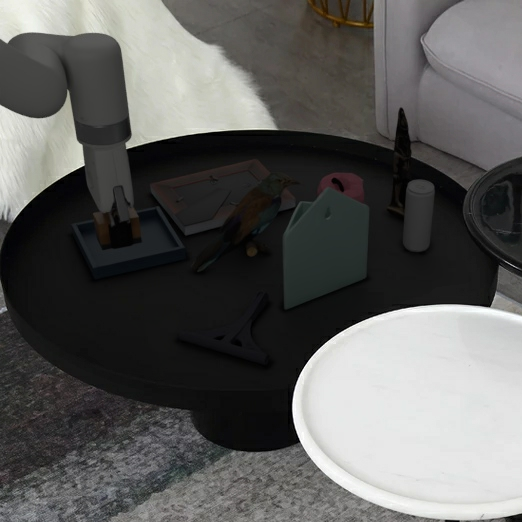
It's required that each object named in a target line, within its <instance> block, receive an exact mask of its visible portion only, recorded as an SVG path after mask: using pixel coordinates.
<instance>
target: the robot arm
mask: <svg viewBox="0 0 522 522" xmlns="http://www.w3.org/2000/svg"><path fill="white" fill-rule="evenodd" d="M68 93H69V94H68ZM68 95H69V99H70V100H69V101H70V106H71V113H72V119H73V125H74V132H75V138H76V141H77V142H78V143H79V144H80V145H81V146H82V155H83V163H84V164H83V165H84V172H85V181H86V185H87V186H86V187H87V188H88V190H89V191H88V192H89V193H90V195H91V197H92V199H93V201H94V203H95V205H96V207H97V209H98V211H99V212H102V213H106V212H108V214H109V220H110V224H109V225H108V227H109V234H110V241H111V246H112V248H113V249H118V248H123V247H128V246H132V245H133V236H132V228H131V222H130V217H129V211H128V207H129V208H130V209H131V208H132V207H134V205H135V199H134V190H133V182H132V181H133V180H132V175H131V168H130V161H129V155H128V149H127V144H126V143H128V142H129V141H130V140H131V139H132V136H133V133H132V126H131V118H130V116H131V115H130V110H129V102H128V92H127V85H126V76H125V68H124V59H123V52H122V48H121V45H120V43H119V42H118V40H117V39H116V38H114V37H113V36H111V35H109V34H107V33H103V32H102V33H101V32H85V33H79V34H76V35H67V34H66V35H64V34H53V33H46V32H33V31H32V32H31V31H30V32H23V33H19V34H17V35H15V36H13V37H12V38H10V39H9V40H8V41H7V42H6V41H4V40H3V39H2V38H0V106H1V107H3V108H5V109H7V110H9V111H11V112H13V113H15V114H18V115H20V116H22V117H27V118H30V119H47V118H49V117H52V116H55V115H56V114H57V113H59V112H60V111H61V109H62V108H63V107H64V106H65V104H66V101H67V98H68ZM114 211H117V213H118V215H115V216H114V215H113V212H114Z"/></svg>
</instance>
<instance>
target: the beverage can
mask: <svg viewBox="0 0 522 522" xmlns="http://www.w3.org/2000/svg"><path fill="white" fill-rule="evenodd" d="M435 192H436V190H435V185H434V184H433V183H432V182H431V181H429V180H426V179H412V181H411V182H409V183H408V187H407V189H406V202H405V215H404V219H403V229H402V230H403V232H402V245H403V247H404V248H405V249H406V250H407V251H409V252H411V253H423V252H425V251H426V250H427V249H429V247H430V245H431V236H432V235H431V234H432V226H433V225H432V223H433V215H434V214H433V213H434V205H435V195H436V194H435Z"/></svg>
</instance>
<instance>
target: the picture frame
mask: <svg viewBox="0 0 522 522" xmlns="http://www.w3.org/2000/svg"><path fill="white" fill-rule="evenodd" d="M271 173H272V172H270V171H269V169H267V168H266V167H265V166H264V165H263V163H261V162H260V161H259V159H258V158H253V159H249V160H244V161H241V162H237V163H233V164H229V165H224V166H220V167H216V168H210V169H207V170H203V171H198V172H194V173H190V174H186V175H182V176H177V177H173V178H169V179H165V180H161V181H155V182H151V183H149V187H150V193H151V194H152V195H153V197H154V198H155V200H156V201H157V202H158V203H159V204H160V206H161V207H162V208H163V209H164V211H165V212H166V214H168V216H169V217H170V218H171V219H172V221H173V222H174V223H175V225H176V226H177V227H178V228H179V230H180V231H181V232H182V233H183V234H184V236H185V237H187V236H190V235H191V236H192V235H196V234H198V233H203V232H206V231H207V232H208V231H211V230H214V229H218V228H219V229H220V228H221V226H222V225H223V223H224V222H225V221H226V219H227V218H228V217H229V216H230V214H231V213H232V212H233V210H234V209H235V208H236V207H237V206H238V204H239V203H240V201H241V200H242V199H243V198H244V197H245V196H246V194H247V193H248V192H249V191H251V190H252V189H253V188H255V187H256V186H258V185H259V184H260V183H261V182H262V181H263V180H264V179H265V178H267V177H268V176H269V175H270V174H271ZM280 197H281V199H282V202H281V206H280V208H279V211H278V213H279V212H280V213H281V212H284V211H287V210H292V209H294V208H295V209H296V207H297V204H296V200H297V199H296V197H295V196H294V194H292V193H291V192H290V191H289V190H288V189H287V187H286V188H285V189H284V191H283V192H282V194H281V196H280Z"/></svg>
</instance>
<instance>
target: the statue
mask: <svg viewBox="0 0 522 522" xmlns="http://www.w3.org/2000/svg"><path fill="white" fill-rule="evenodd" d="M409 130H410V129H409V123H408V119H407V116H406V113H405V110H404V108H403V107H402V106H401V107H399V109H398V113H397V122H396V129H395V137H394V145H393V146H394V147H393V164H392V167H393V169H392V185H391V186H392V189H391V199H390V203H389V204H388V205H387V206H386V211H387V212H388V213H390V214H393V215H394V216H397V217H399V218H401V219H403V220H404V215H405V202H406V189H407V187H408V183H409V182H411V181H413V179H412V171H411V165H412V154H413V153H412V149H411V147H412V141H411V137H410V134H409Z"/></svg>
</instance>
